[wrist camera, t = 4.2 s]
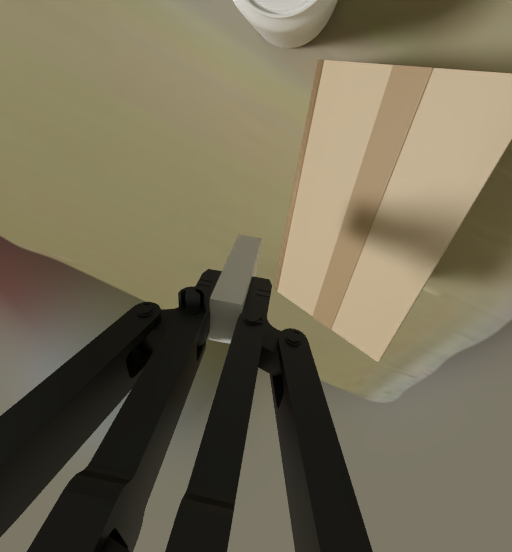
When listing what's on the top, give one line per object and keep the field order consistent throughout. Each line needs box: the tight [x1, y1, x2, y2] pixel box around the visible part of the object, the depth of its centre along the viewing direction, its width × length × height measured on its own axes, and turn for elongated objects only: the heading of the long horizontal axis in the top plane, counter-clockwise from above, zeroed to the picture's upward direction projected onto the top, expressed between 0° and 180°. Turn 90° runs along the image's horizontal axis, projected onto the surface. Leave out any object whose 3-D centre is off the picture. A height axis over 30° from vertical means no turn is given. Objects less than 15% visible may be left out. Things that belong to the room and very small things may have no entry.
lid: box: [275, 60, 512, 362], centre depth 23 cm, size 14×22×1 cm
